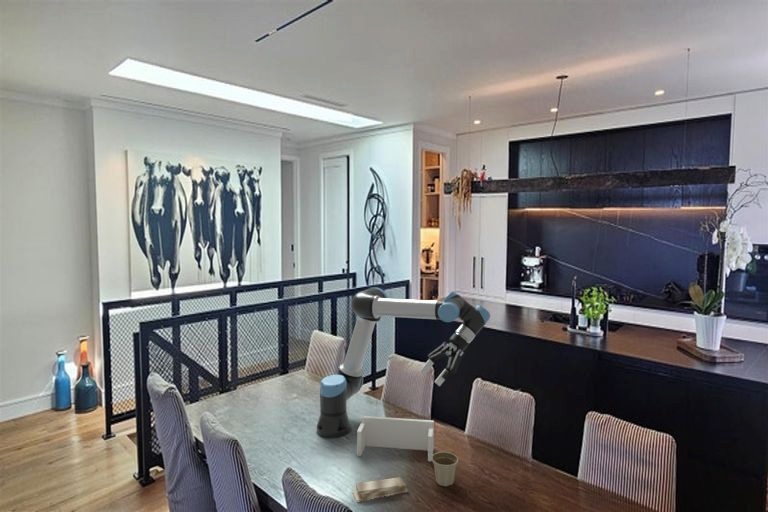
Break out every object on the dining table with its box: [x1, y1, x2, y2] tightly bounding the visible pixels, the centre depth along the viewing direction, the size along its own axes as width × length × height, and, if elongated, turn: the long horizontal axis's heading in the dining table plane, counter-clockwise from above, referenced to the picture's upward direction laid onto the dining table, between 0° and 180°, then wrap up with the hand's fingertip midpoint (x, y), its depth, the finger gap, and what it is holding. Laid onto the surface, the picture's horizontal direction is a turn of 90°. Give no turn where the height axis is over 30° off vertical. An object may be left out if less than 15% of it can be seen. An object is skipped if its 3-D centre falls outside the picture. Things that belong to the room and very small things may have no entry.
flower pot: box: [432, 451, 459, 487], centre depth 159 cm, size 9×9×9 cm
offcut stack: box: [351, 476, 409, 503], centre depth 154 cm, size 18×7×4 cm, turn 109°
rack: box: [356, 415, 435, 462], centre depth 180 cm, size 30×10×12 cm, turn 81°
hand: (428, 378), depth 180 cm, fingers open, 13 cm apart
